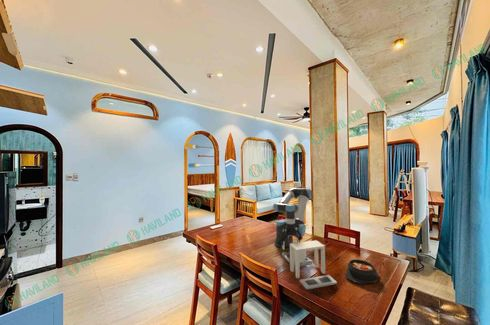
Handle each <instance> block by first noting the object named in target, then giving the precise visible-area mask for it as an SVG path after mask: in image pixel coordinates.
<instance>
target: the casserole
mask: <svg viewBox="0 0 490 325" xmlns="http://www.w3.org/2000/svg"><path fill="white" fill-rule="evenodd" d="M346 265H347V268H346V270H345V271H346V272H345V273H344V276H345V278H347V279H348V280H350V281H352V282H353V283H357V284H360V285H365V284H370V283H371V284H372V283H376V282H377V281H379V273H378V271H377V269H376V267H375V266H374V265H373V264H372V263H370V262H369V261H365V260H361V259H350V260H349V261H348V262H347V264H346Z"/></svg>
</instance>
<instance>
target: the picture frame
mask: <svg viewBox="0 0 490 325" xmlns="http://www.w3.org/2000/svg"><path fill="white" fill-rule="evenodd" d="M293 237H294V236H291V235H289V247H288V251H286V252H285V251H284V252H281V256H282V257H283V258H284V259H285V260H286V261H287V262H288V263H289V264H290V257H288V256H290V244H292V243H294V238H293ZM311 265H313V260H312V259H310V258H309V257H307V256H306V259H305V261H303V262H299V266H300V267H305V266H311ZM294 268H295V263H294Z"/></svg>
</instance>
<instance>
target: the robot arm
mask: <svg viewBox="0 0 490 325" xmlns="http://www.w3.org/2000/svg"><path fill="white" fill-rule="evenodd" d="M311 192H312V191H311V189H310V188H309V187H293V188H292V187H291V188H289V189H288V190H286V192H285V194H284V196H283V197H282V198H281V199H280V201H279V202H274V203H273V205H272V207H273V208H272V209H273V211H274V212H280V213H281V212H282V213H285V219H284V218H283V219H279V220H278V219H277V220H276V222H275V233H276V234H275V239H274V244H273V245H274V246H275V247H276V248H281V249H283V251H285V249H286V248H289V236H293V237H296V242H301V240H302V239H303V237H304V236H305V234H306V224H305V222H304V220H305V219H304V218H305V214H306V209H307V204H308V202H309V200H311V199H312V193H311ZM293 199H297V203H290V202H291V200H293Z"/></svg>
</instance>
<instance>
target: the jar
mask: <svg viewBox="0 0 490 325" xmlns="http://www.w3.org/2000/svg"><path fill="white" fill-rule="evenodd" d="M300 242H301V241H300ZM300 242H297V241H293V243H300ZM306 257H307V251H300V252H299V262H303V261H306ZM294 263H295V250H294Z"/></svg>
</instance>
